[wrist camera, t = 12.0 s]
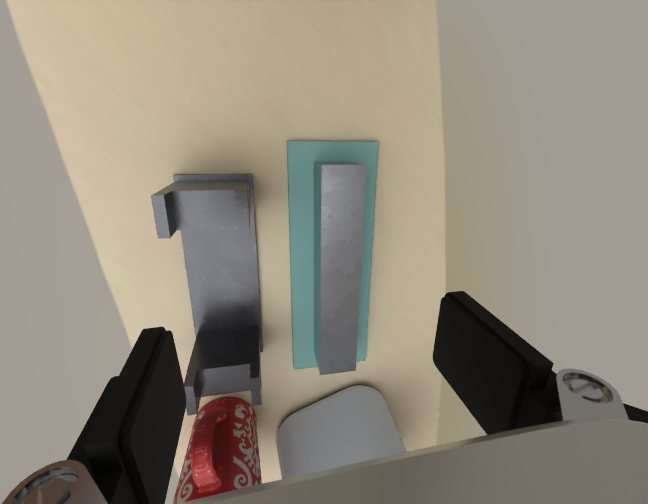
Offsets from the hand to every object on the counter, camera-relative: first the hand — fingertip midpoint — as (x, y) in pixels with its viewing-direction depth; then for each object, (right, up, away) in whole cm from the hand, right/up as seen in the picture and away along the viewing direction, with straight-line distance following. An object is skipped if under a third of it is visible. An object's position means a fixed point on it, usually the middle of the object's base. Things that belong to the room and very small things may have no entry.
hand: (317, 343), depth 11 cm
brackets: (-10, +1, +23) cm, 25 cm away
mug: (-12, -16, +29) cm, 35 cm away
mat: (+1, +2, +25) cm, 25 cm away
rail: (+1, +2, +24) cm, 25 cm away
